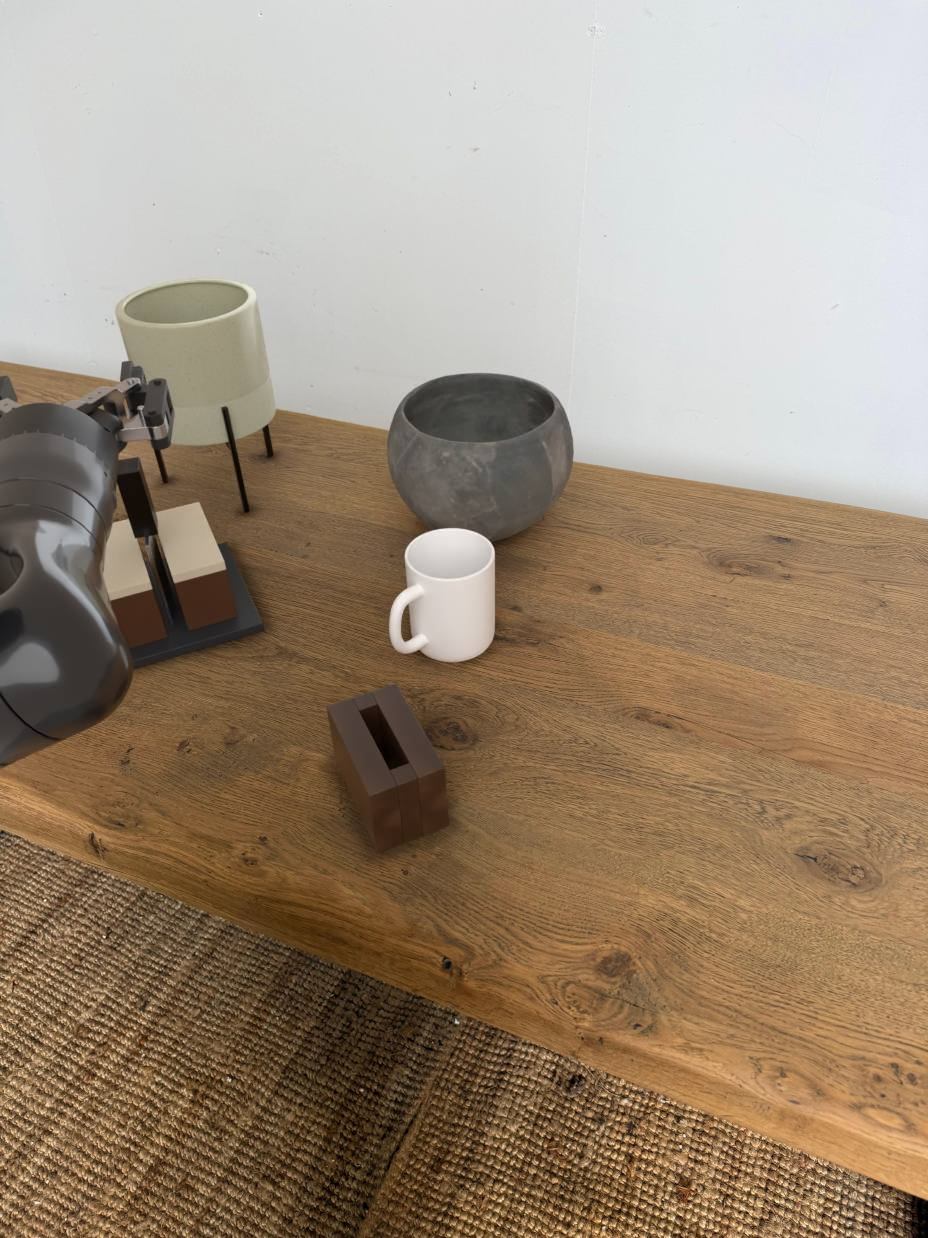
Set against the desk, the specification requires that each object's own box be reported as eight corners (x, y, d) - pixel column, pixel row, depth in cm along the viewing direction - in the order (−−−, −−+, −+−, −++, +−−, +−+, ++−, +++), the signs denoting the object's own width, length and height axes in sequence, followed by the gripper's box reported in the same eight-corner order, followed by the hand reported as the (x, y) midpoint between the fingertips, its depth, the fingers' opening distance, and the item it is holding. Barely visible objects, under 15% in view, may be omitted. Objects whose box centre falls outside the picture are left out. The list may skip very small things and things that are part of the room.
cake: (100, 679, 82) (73, 614, 77) (82, 587, 93) (57, 525, 88) (264, 630, 87) (250, 566, 82) (228, 548, 98) (213, 488, 93)
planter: (181, 452, 116) (135, 277, 101) (297, 452, 115) (269, 276, 101) (144, 514, 104) (86, 326, 90) (274, 514, 104) (237, 325, 89)
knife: (158, 621, 87) (113, 483, 77) (157, 586, 92) (114, 452, 81) (181, 616, 88) (139, 479, 77) (178, 582, 92) (138, 448, 82)
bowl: (358, 520, 102) (344, 402, 93) (485, 460, 112) (484, 349, 103) (473, 597, 90) (470, 472, 81) (603, 523, 101) (615, 403, 91)
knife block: (377, 854, 66) (368, 796, 62) (336, 764, 73) (325, 706, 69) (448, 826, 68) (445, 767, 64) (401, 741, 75) (396, 683, 71)
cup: (512, 634, 86) (513, 550, 79) (425, 697, 79) (419, 612, 73) (452, 599, 90) (449, 517, 84) (366, 657, 84) (355, 573, 77)
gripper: (155, 417, 50) (157, 317, 62) (-115, 453, 47) (-57, 342, 59) (185, 526, 54) (182, 414, 67) (-58, 565, 52) (-15, 440, 64)
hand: (69, 380), depth 63 cm, fingers open, 8 cm apart
